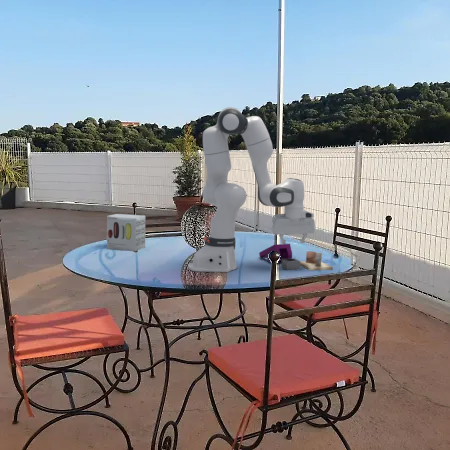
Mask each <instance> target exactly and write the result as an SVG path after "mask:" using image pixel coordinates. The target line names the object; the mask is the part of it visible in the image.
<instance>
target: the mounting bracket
mask: <svg viewBox="0 0 450 450" xmlns="http://www.w3.org/2000/svg"><path fill="white" fill-rule="evenodd" d="M271 251H277V252H278V253H279V254H280V256H281V257H280V260H279V261H278V263H277V264H279V263H280V261H281V262H282V259H288V258H293V251H292V247H291V243H286V244H282V243H279V244H273V245H271V246H269V247H267V248H265V249H263V250H262V251H260V252H259V253H258V254H259V258H260V259H262V258H263V257H264V258H267V260H268V262H269V263H270V260H269V258H268V254H269V253H270V252H271Z"/></svg>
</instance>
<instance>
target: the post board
mask: <svg viewBox="0 0 450 450" xmlns="http://www.w3.org/2000/svg"><path fill="white" fill-rule="evenodd" d="M322 254H323V253H321V252H316V251H311V250H310V251H306V255H305V256H306V257H305V260H302V261H301V260H299V261H300V267H301V268H304V269H306V270H308V271H331V270H332V271H333V268H334V267H333V266H331V265H329V264H327V263H326V262H323V261H322Z"/></svg>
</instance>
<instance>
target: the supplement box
mask: <svg viewBox="0 0 450 450" xmlns="http://www.w3.org/2000/svg"><path fill="white" fill-rule="evenodd" d="M106 217H107V218H106V250H108V249H109V250H117V251H129V252H138V251H140V250H142V249H144V248H146V215H144V214H142V215H141V214H140V215H137V214H127V213H126V214H125V213H124V214H123V213H115V214H114V213H113V214H110V215H107V216H106Z"/></svg>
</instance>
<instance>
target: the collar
mask: <svg viewBox="0 0 450 450" xmlns="http://www.w3.org/2000/svg"><path fill="white" fill-rule="evenodd" d="M300 261H301V260H299V259H297V258H295V257H294V258H293V257H292V258H288V259H282V261H281V268H283V269H284V270H286V271H297V270H298V271H300V270H301V266H300Z"/></svg>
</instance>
